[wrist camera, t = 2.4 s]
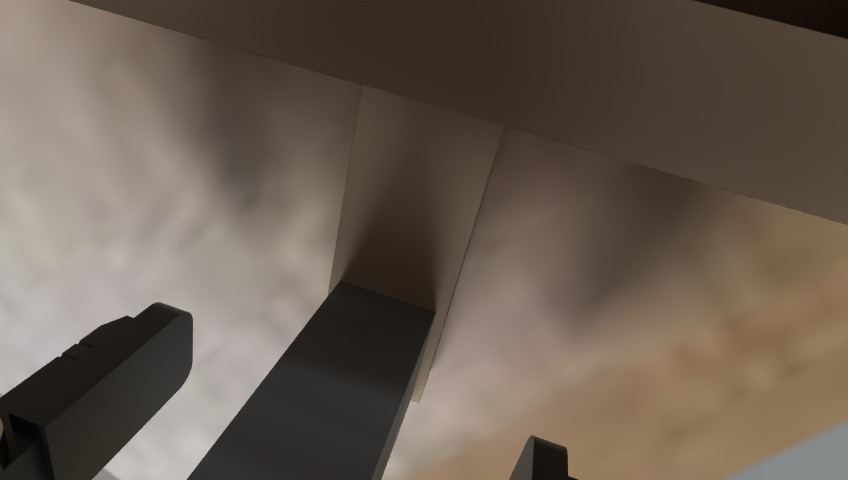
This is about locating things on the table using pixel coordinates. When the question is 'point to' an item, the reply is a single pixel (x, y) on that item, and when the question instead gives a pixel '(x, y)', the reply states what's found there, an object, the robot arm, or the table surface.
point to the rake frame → (473, 161)
